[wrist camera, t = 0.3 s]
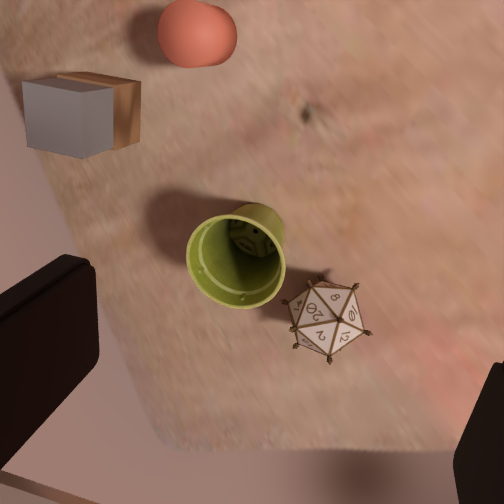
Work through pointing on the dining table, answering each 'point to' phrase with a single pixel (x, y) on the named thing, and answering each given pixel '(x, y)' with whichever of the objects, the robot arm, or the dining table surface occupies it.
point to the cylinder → (196, 34)
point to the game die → (325, 317)
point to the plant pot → (238, 257)
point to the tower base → (118, 105)
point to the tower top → (68, 116)
